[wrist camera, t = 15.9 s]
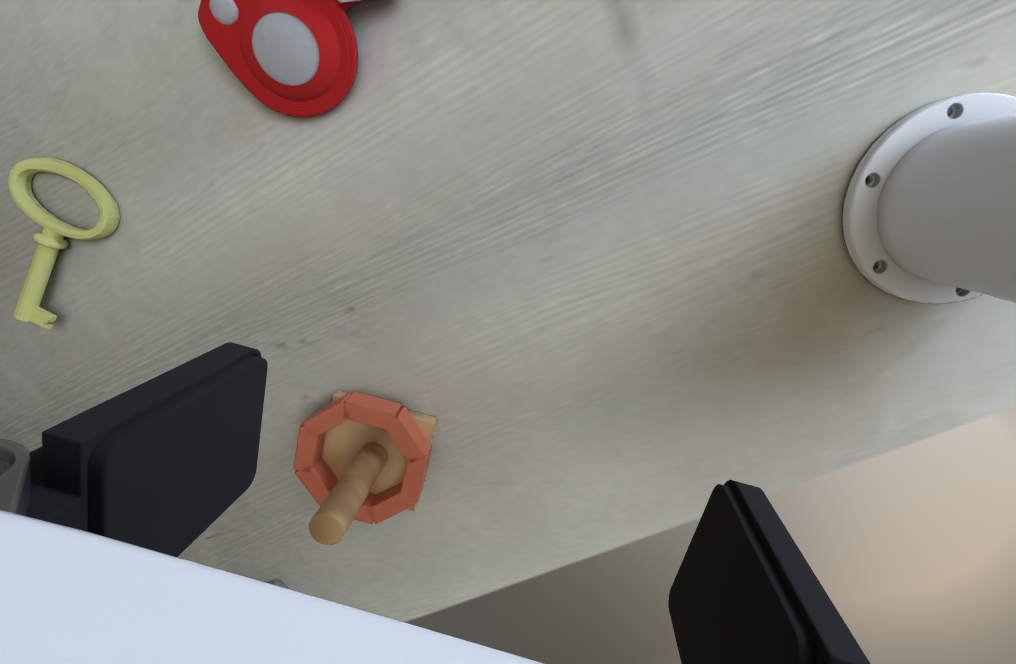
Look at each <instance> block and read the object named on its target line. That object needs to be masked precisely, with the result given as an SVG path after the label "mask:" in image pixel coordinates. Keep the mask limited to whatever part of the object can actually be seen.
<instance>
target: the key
mask: <svg viewBox="0 0 1016 664" xmlns="http://www.w3.org/2000/svg"><path fill="white" fill-rule="evenodd" d="M37 172H50V173H55V174H58V175H61V176H64V177H67V178H69V179H71V180H73V181H74V182H76V183H78V184H79V185H81V186H82V187H83V188H84V189H85V190H87V192H88V193H89V194H90V195H91V196H92V197H93V199H94V200H95V201H96V203H97V205H98V207H99V210H100V219H99V222H98V223H97V225H96V226H95V227H94V228H93V229H80V228H77V227H75V226H72V225H70V224H68V223H65V222H64V221H62V220H60V219H58V218H57V217H55V216H54V215H52V214H51V213H49V212H48V211H47V210H46V209H45V208H44V207H42V206H41V204H40V203H39V202H38V201H37V200H36V198H35V197H34V195H33V193H32V189H31V182H32V178H33V176H34V175H35V174H36V173H37ZM8 187H9V191H10V194H11V196H12V199H13V200H14V201H15V203H16V204H17V205H18V207H19V208H20V209H21V210H22V211H23V212H24V213H25V214H26V215H27V216H28V217H30V218H31V219H32V220H34V221H35V222H37V223H38V224H40V225H42V226H43V227H44V228H43V230H42V232H38V233H35V234H34V235H33V239H34V241H35V242H37V243H38V245H37V248H36V251H35V253H34V256H33V259H32V262H31V265H30V268H29V271H28V274H27V277H26V279H25V282H24V285H23V288H22V291H21V294H20V297H19V300H18V302H17V305H16V308H15V311H14V314H13V317H14V318H15V319H18V320H21V321H27V322H29V321H31V322H33V323H35V324H37V325H39V326H41V327H43V328H45V329H47V330H49V329H53V325H51V324H49V323H51V322H53V321H55V320H56V318H57V316H56V315H54V314H52V313H50V312H48V311H46V310H44V309H42V308H40V307H39V305H40V302H41V299H42V297H43V294H44V291H45V288H46V285H47V283H48V280H49V277H50V274H51V271H52V269H53V266H54V263H55V260H56V257H57V254H58V252H59V249H65V248H67V246H68V242H67V241H66V240H65V239H64V236H66V237H70V238H75V239H80V240H97V239H101V238H104V237H107V236H109V235H110V234H112V233H113V232H114V231H115V230H116V228H117V226H118V224H119V219H120V214H119V209H118V206H117V203H116V202H115V200H114V198H113V197H112V196H111V194H110V193H109V192H108V191H107V189H106V188H105V187H104V186H103V185H102V184H101V183H100V182H98V181H97V180H96V179H95V178H93V177H92V176H91V175H89V174H88V173H86V172H85V171H83V170H82V169H80V168H78V167H76V166H74V165H72V164H70V163H68V162H65V161H62V160H59V159H55V158H46V157H42V158H33V159H28V160H23V161H21V162H19V163H17V164H16V165H15V166H14V167H13V168H12V170H11V172H10V175H9V179H8Z"/></svg>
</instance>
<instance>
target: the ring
mask: <svg viewBox="0 0 1016 664" xmlns="http://www.w3.org/2000/svg"><path fill="white" fill-rule="evenodd" d="M401 405H402V404H400V403H396V402H392V401H389V400H385V399H381V398H377V397H373V396H370V395H366V394H362V393H358V392H353V393H351V392H349V393H347V394H346V395H344V396H342V397H340V398H339V399H337V400H335V401H333V402H332V403H330V404H328V405H326V406H324V407H323V408H321V409H319V410H317V411H316V412H314V413H312V414H311V415H310V416H309V417H308V418H307V419H306V420H305V421H304V422H303V423H302V425H301V426H300V430H299V437H298V443H297V450H296V457H295V464H294V469H295V470H296V471H295V474H296V475H297V477H298V478H299V479H300V481H301V482H302V483H303V484H304V486H305V487H306V488H307V490H308V491H309V492H310V494H311V495H312V496H313V498H314V499H315V500H316V502H317V503H318V504H319V505H320V506H321V505H322V504H323V502H324V501H325V499H326V498H327V496H328V495H329V494H330V492H331V491H332V489H333V488H334V487H335V485H336V484H337V482H338V481H339V480H338V479H337V477H336V476H335V474H334V473H333V472H332V470H331V469H330V468H329V466H328V465H327V464H326V462H325V461H324V460H323V458H322V453H323V447H324V440H325V434H326V431H328V430H330V429H331V428H333V427H335V426H337V425H339V424H340V423H342V422H344V421H346V420H348V419H349V420H352V421H356V422H360V423H364V424H367V425H371V426H375V427H379V428H383V429H386V430H387V431H388V433H389V434H390V436H391V437H392V439H393V440H394V441H395V443H396V444H397V446H398V447H399V449H400V450H401V451H402V453H403V454H404V456H405V457H406V459H407V465H406V469H405V474H404V478H403V482H401V483H399V484H397V485H395V486H394V487H392V488H390V489H388V490H386V491H384V492H382V493H380V494H378V495H376V494H372V493H368V495H367V497H366V499H365V500H364V502H363V504H362V505H361V507H360V509H359V511H358V512H357V514H356V516H355V518H354V520H358V521H362V522H366V523H370V524H373V522H375V524H377V523H379V522H381V521H383V520H385V519H387V518H389V517H391V516H393V515H395V514H397V513H399V512H401V511H403V510H405V509H407V508H409V507H411V506H413V505H415V503H416V502H417V501H418V499H419V496H420V494H421V492H422V489H423V485H424V481H425V477H426V473H427V468H428V464H429V460H430V455H431V451H432V448H430V447H431V444H430V443H429V441H428V440H427V438H426V437H425V435H424V434H423V432H422V431H421V429H420V428H419V426H418V425H417V424H416V422H415V421H414V419H413V418H412V416H411V415H410V413H409V412H408V410H407V409H406V407H405V406H404V407H402V408H401Z"/></svg>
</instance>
